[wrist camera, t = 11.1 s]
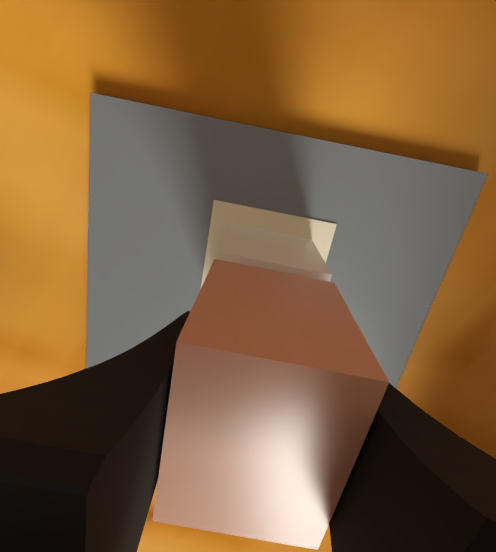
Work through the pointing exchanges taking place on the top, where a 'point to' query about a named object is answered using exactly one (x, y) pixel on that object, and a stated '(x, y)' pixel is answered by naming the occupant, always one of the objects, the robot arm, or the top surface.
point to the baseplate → (259, 220)
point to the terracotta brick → (265, 407)
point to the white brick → (273, 252)
